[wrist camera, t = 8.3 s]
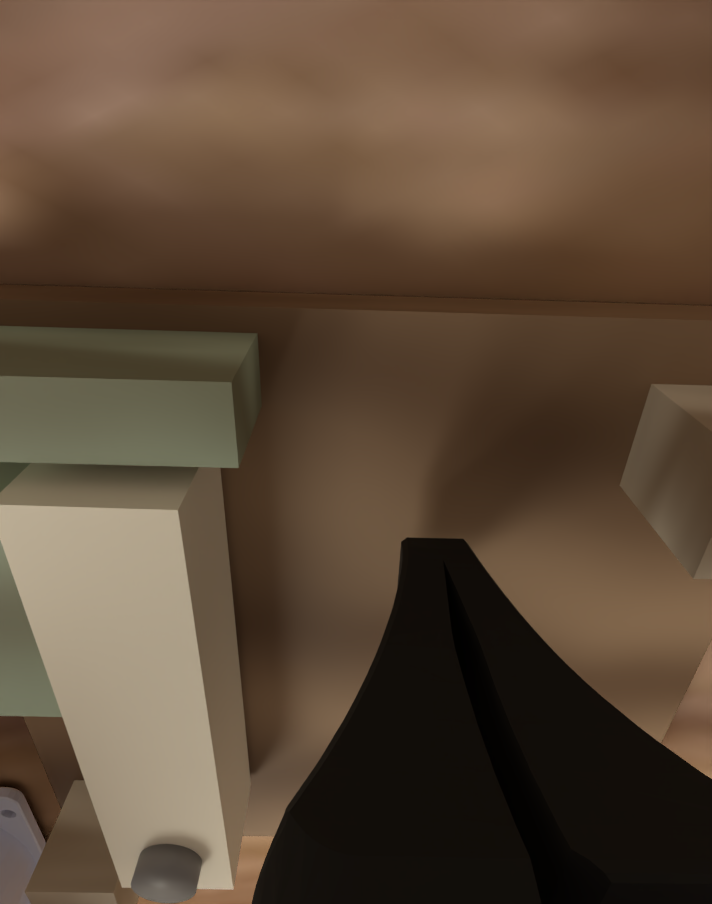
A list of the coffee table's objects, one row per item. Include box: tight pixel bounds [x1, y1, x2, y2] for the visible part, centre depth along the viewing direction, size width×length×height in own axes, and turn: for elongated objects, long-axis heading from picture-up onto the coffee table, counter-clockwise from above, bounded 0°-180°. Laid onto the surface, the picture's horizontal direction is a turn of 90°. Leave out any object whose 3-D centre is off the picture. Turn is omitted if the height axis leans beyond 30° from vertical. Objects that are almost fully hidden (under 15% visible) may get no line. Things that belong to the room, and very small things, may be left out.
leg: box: [0, 463, 251, 903], centre depth 13 cm, size 12×3×3 cm, turn 178°
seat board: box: [0, 284, 712, 904], centre depth 14 cm, size 18×19×4 cm
